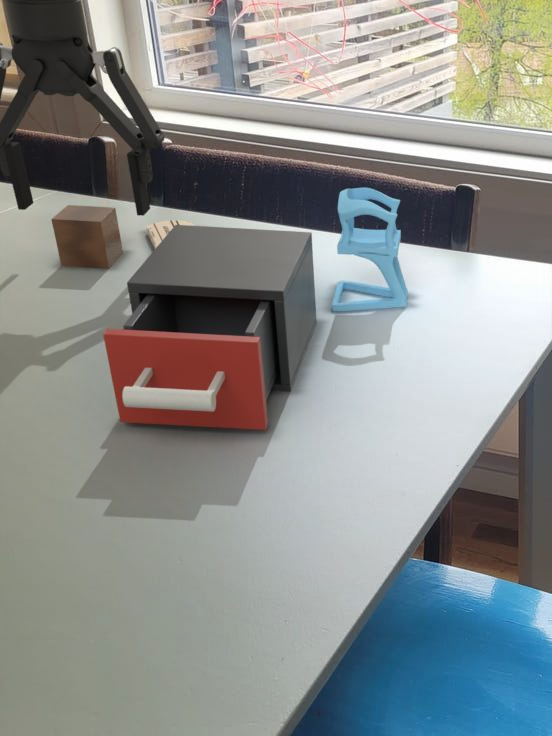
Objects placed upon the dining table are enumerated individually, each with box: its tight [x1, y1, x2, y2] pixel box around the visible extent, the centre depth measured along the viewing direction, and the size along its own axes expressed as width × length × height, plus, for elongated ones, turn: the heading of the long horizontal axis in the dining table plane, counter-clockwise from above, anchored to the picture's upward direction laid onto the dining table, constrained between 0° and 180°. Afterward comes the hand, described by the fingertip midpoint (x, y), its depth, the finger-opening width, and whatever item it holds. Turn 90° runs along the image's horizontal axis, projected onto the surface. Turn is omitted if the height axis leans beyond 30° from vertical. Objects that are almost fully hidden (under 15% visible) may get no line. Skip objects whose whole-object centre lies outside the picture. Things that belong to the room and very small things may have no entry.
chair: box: [331, 187, 409, 312], centre depth 109 cm, size 8×8×12 cm
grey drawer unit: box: [126, 225, 317, 392], centre depth 97 cm, size 17×14×10 cm
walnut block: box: [50, 204, 124, 270], centre depth 117 cm, size 6×6×6 cm
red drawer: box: [103, 294, 280, 431], centre depth 87 cm, size 21×13×8 cm, turn 179°
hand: (85, 209), depth 115 cm, fingers open, 13 cm apart
